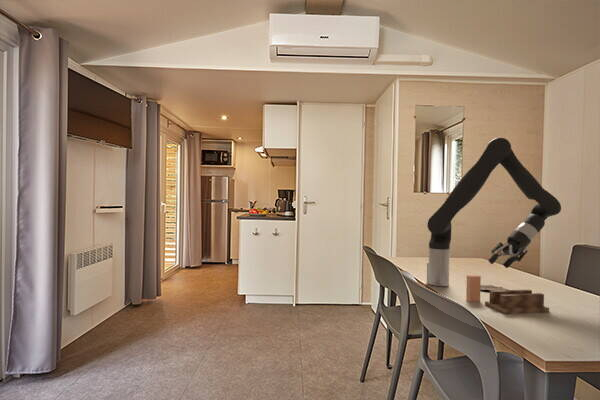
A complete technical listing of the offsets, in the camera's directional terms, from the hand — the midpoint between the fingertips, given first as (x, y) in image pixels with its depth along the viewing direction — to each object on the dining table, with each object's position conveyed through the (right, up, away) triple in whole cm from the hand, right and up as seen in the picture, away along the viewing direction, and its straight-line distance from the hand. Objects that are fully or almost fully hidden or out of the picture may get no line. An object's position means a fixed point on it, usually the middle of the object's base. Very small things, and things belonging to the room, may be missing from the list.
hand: (497, 264), depth 151 cm
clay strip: (-11, -14, -2) cm, 18 cm away
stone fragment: (+9, -15, +11) cm, 21 cm away
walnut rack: (+1, -14, -12) cm, 19 cm away
